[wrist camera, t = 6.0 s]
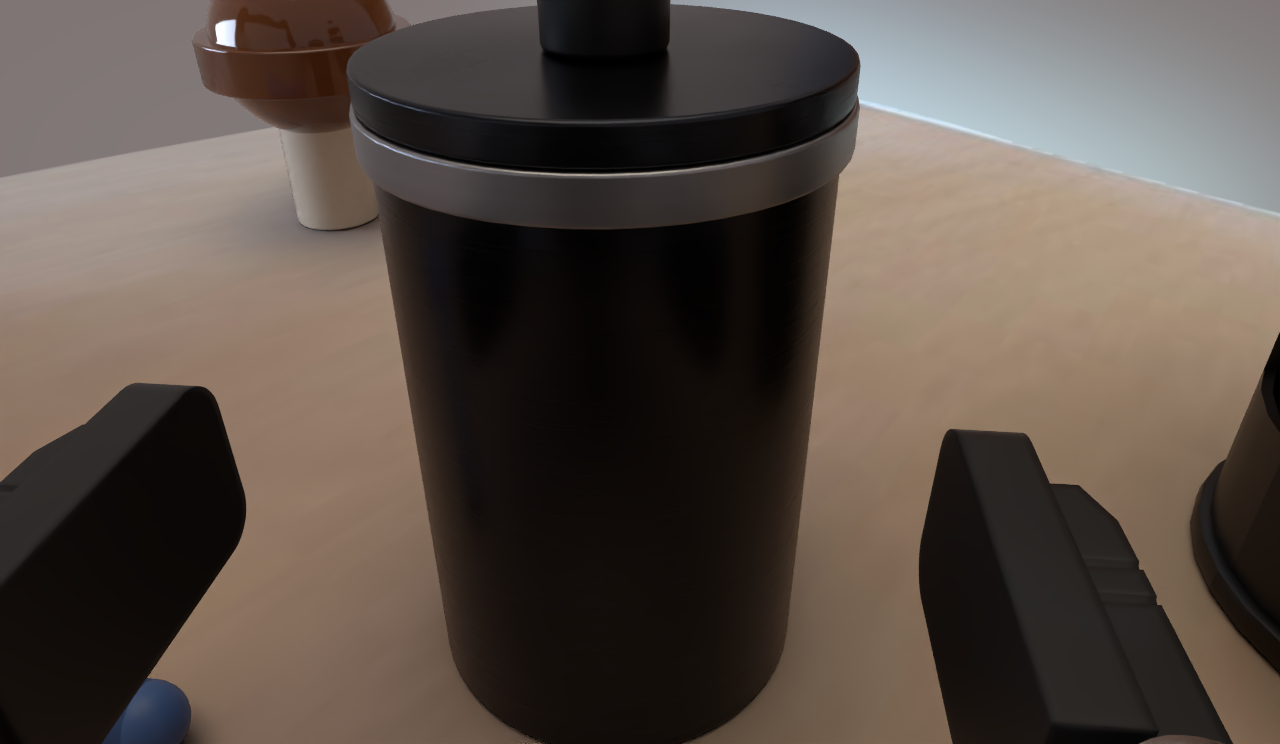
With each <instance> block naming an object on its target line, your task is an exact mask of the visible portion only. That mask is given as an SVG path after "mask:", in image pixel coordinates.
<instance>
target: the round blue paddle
mask: <svg viewBox="0 0 1280 744" xmlns="http://www.w3.org/2000/svg"><path fill="white" fill-rule="evenodd" d="M190 721H191V708H190V704H189V701H188V699H187V697H186V695H185V694H184V692H183V691H182V690H181V689H180V688H178V687H177V686H176V685H174V684H172V683H170V682H167V681H165V680H159V679H149V678H146V680H145V681H144V683H143V684H142V686H141V687H140V689H139V690H138V692H137V693H136V694H135V696H134V697H133V699H132V700H131V702H130V703H129V705H128V706H127V707H126V709H125V710H124V712H123V713H122V715H121V716H120V718H119V719H118V721H117V722H116V723H115V725H114V726H113V728H112V729H111V731H110V732H109V734H108V735H107V737H106V738H105V739H104V741H103V742H102V744H180V743H181V742H182V741H183V739H184V738H185V736H186V734H187V731H188V729H189V725H190Z"/></svg>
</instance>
